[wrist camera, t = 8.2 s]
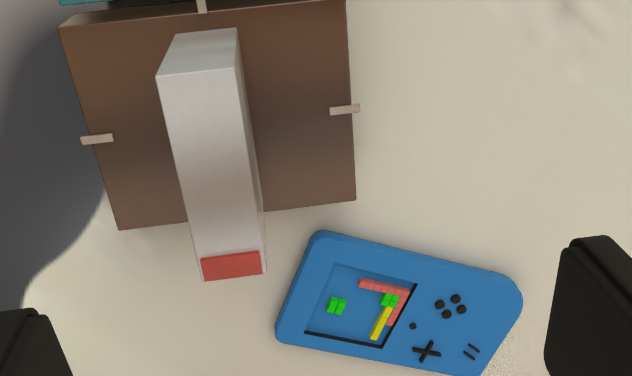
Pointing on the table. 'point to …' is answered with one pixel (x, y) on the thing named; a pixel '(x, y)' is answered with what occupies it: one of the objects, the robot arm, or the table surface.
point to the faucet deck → (262, 92)
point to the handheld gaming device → (397, 306)
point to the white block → (214, 151)
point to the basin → (78, 1)
